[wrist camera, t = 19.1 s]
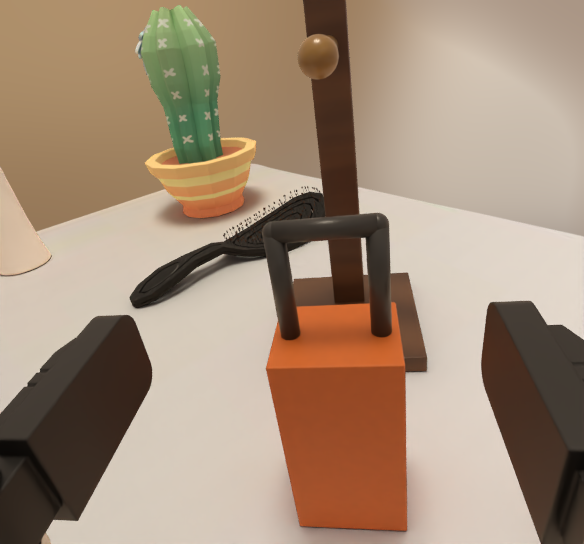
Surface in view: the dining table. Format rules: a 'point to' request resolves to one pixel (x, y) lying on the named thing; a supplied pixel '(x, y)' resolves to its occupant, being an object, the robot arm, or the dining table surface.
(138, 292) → the hairbrush
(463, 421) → the dining table surface
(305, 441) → the orange handled weight
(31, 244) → the cosmetic bottle
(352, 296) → the hook stand
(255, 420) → the dining table surface
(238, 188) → the potted cactus
